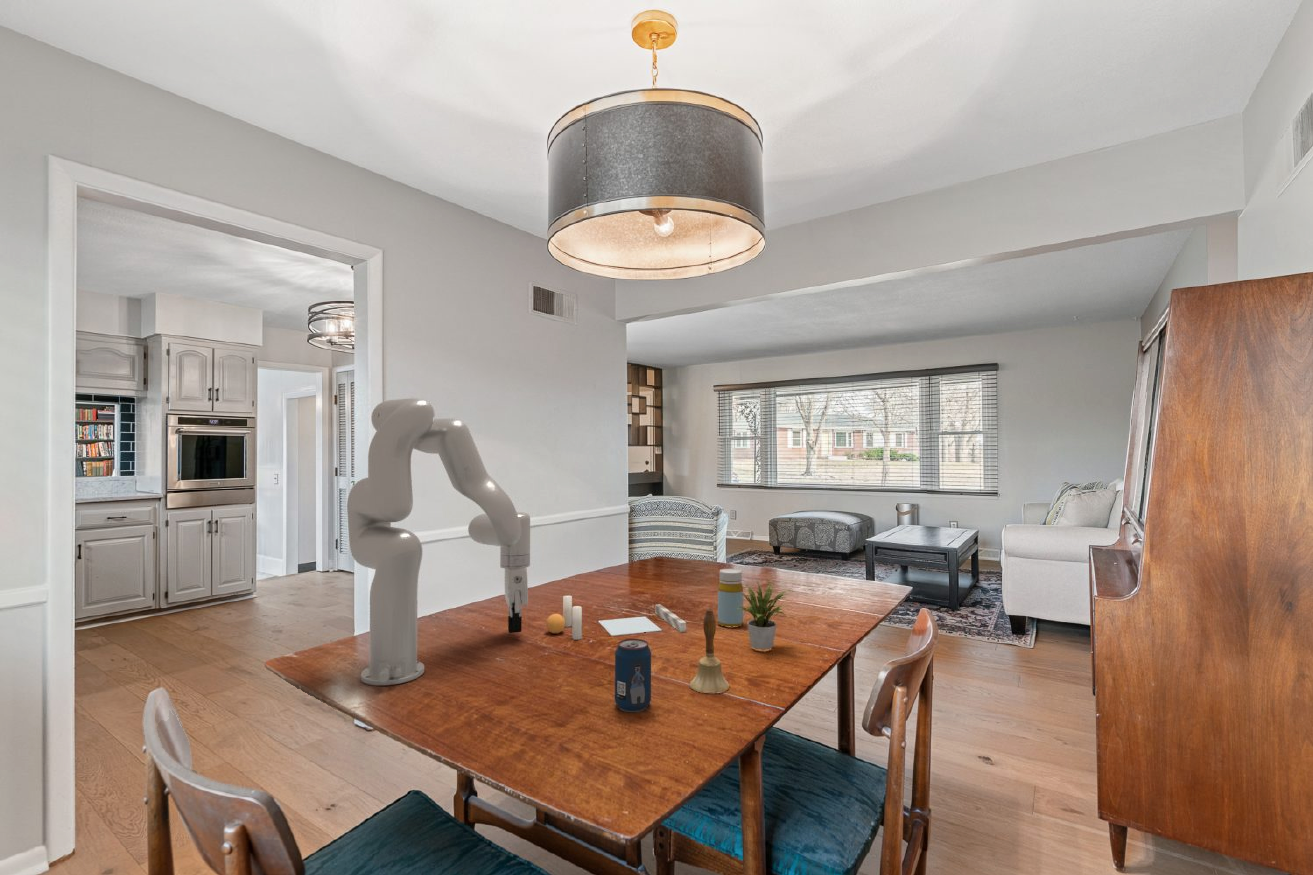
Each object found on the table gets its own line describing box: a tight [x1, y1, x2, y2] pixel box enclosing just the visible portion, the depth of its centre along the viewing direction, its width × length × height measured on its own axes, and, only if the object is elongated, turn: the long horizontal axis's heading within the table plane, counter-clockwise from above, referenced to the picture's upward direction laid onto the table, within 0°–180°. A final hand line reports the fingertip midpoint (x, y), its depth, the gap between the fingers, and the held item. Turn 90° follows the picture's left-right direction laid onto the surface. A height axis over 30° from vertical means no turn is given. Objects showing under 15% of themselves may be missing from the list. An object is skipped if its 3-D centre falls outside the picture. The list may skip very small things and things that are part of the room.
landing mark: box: [597, 616, 663, 637], centre depth 171 cm, size 14×14×1 cm
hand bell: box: [689, 608, 730, 694], centre depth 129 cm, size 8×8×16 cm
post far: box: [562, 595, 573, 628], centre depth 171 cm, size 2×2×8 cm
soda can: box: [614, 638, 652, 713], centre depth 119 cm, size 7×7×12 cm
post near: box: [571, 605, 583, 641], centre depth 160 cm, size 2×2×8 cm
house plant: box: [737, 581, 792, 650], centre depth 151 cm, size 14×14×16 cm
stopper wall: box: [654, 603, 687, 633], centre depth 175 cm, size 20×2×2 cm, turn 20°
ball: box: [545, 613, 566, 635], centre depth 164 cm, size 5×5×5 cm
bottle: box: [717, 568, 744, 627], centre depth 173 cm, size 7×7×15 cm
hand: (514, 631), depth 160 cm, fingers closed
